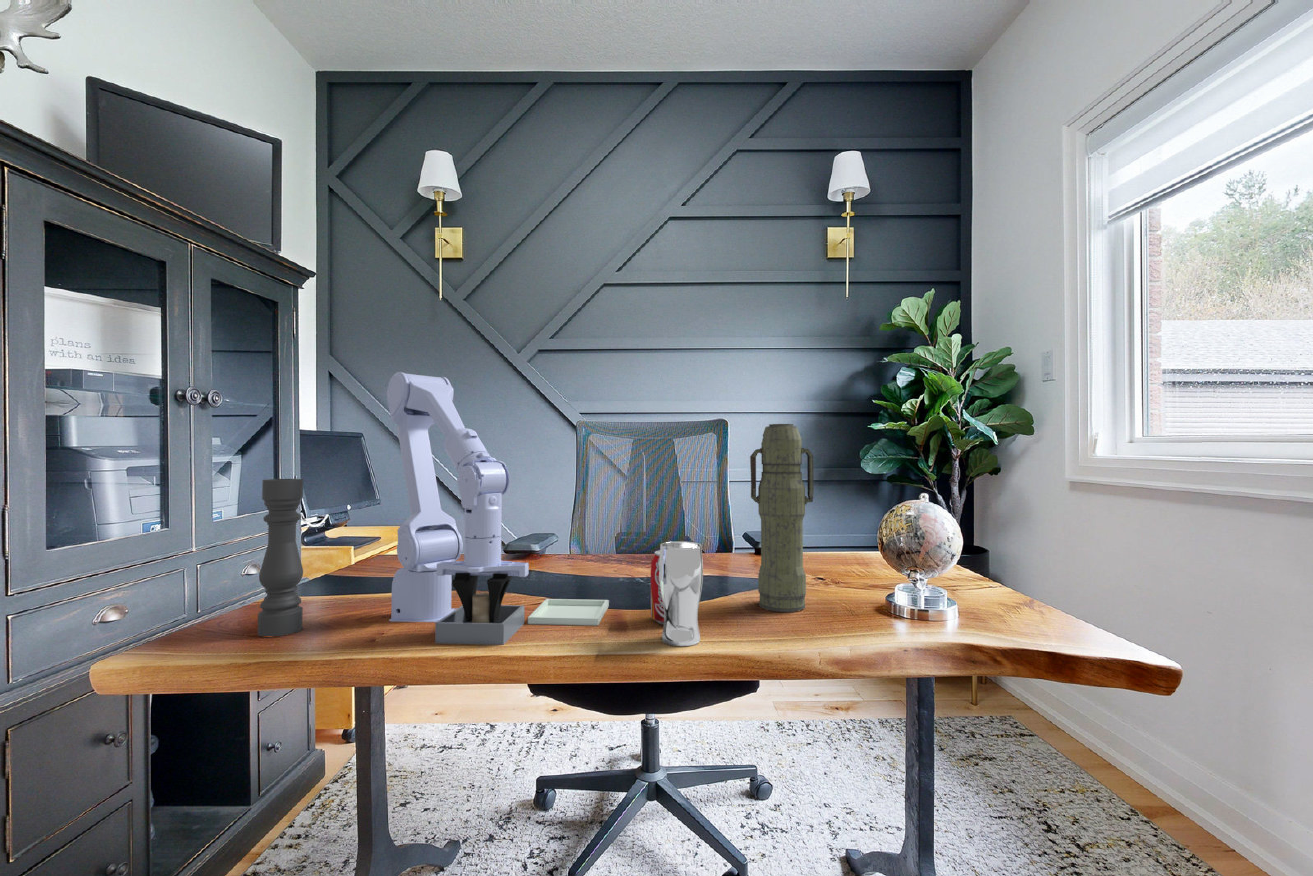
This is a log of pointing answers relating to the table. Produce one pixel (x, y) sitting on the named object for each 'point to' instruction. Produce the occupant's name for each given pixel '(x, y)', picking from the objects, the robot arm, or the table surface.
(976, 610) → the table surface
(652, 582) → the soda can
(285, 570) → the candle holder
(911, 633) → the table surface
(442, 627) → the charcoal bin
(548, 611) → the sage tray
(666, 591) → the beer glass
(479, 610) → the birch pin
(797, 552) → the thermos
